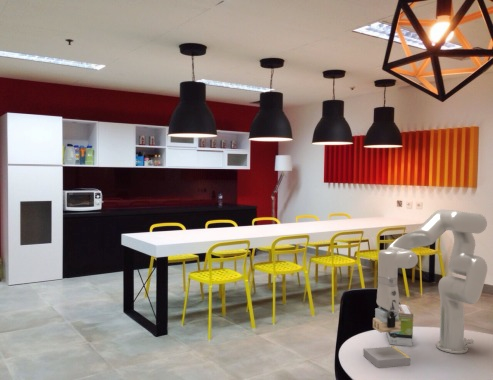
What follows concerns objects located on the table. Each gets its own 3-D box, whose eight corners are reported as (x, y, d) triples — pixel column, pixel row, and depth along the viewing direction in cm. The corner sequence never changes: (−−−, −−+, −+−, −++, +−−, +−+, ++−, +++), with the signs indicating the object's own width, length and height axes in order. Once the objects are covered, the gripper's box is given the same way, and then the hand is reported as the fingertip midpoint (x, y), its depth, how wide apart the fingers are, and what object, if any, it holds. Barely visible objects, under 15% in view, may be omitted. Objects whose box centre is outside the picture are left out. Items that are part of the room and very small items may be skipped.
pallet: (392, 326, 183) (392, 307, 183) (400, 331, 177) (401, 311, 177) (372, 327, 181) (373, 308, 181) (380, 332, 175) (380, 312, 175)
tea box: (413, 346, 195) (413, 313, 194) (389, 344, 197) (390, 312, 196) (407, 334, 209) (408, 304, 209) (385, 333, 211) (386, 302, 211)
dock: (393, 353, 187) (393, 346, 187) (410, 365, 175) (410, 357, 175) (363, 355, 184) (363, 348, 184) (377, 368, 172) (378, 360, 172)
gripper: (408, 285, 171) (407, 331, 171) (384, 275, 188) (384, 317, 188) (390, 286, 169) (389, 332, 170) (368, 276, 186) (368, 318, 187)
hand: (386, 324), depth 179 cm, fingers closed on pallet, 6 cm apart
